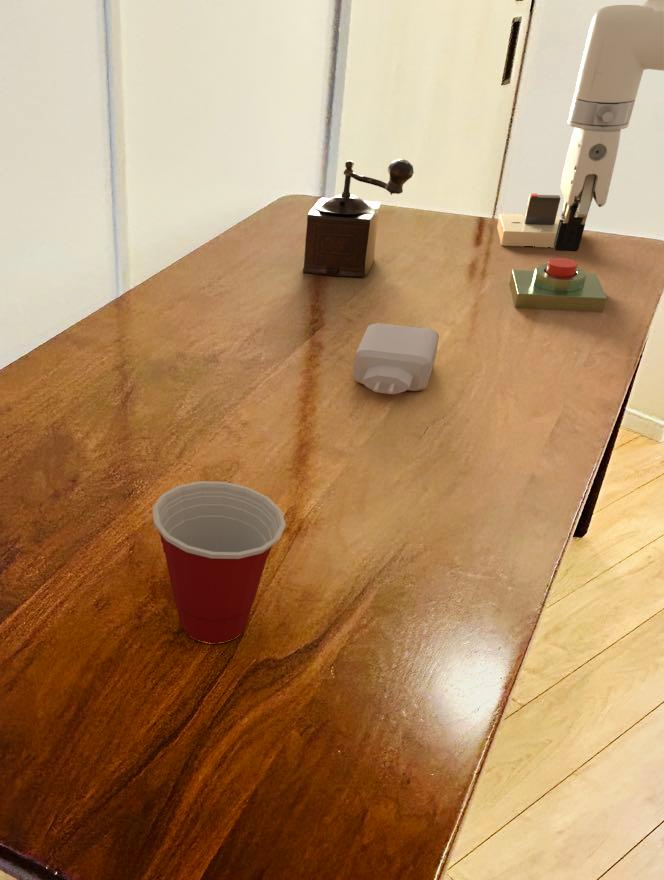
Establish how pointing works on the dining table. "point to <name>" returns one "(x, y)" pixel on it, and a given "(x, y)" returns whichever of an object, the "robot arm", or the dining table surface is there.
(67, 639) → the dining table surface
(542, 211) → the upright dark panel
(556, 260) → the button
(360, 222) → the manual coffee grinder
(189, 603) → the plastic cup
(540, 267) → the control block
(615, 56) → the robot arm
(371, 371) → the charger
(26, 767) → the dining table surface
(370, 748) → the dining table surface
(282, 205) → the dining table surface
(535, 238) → the cream slotted base block
